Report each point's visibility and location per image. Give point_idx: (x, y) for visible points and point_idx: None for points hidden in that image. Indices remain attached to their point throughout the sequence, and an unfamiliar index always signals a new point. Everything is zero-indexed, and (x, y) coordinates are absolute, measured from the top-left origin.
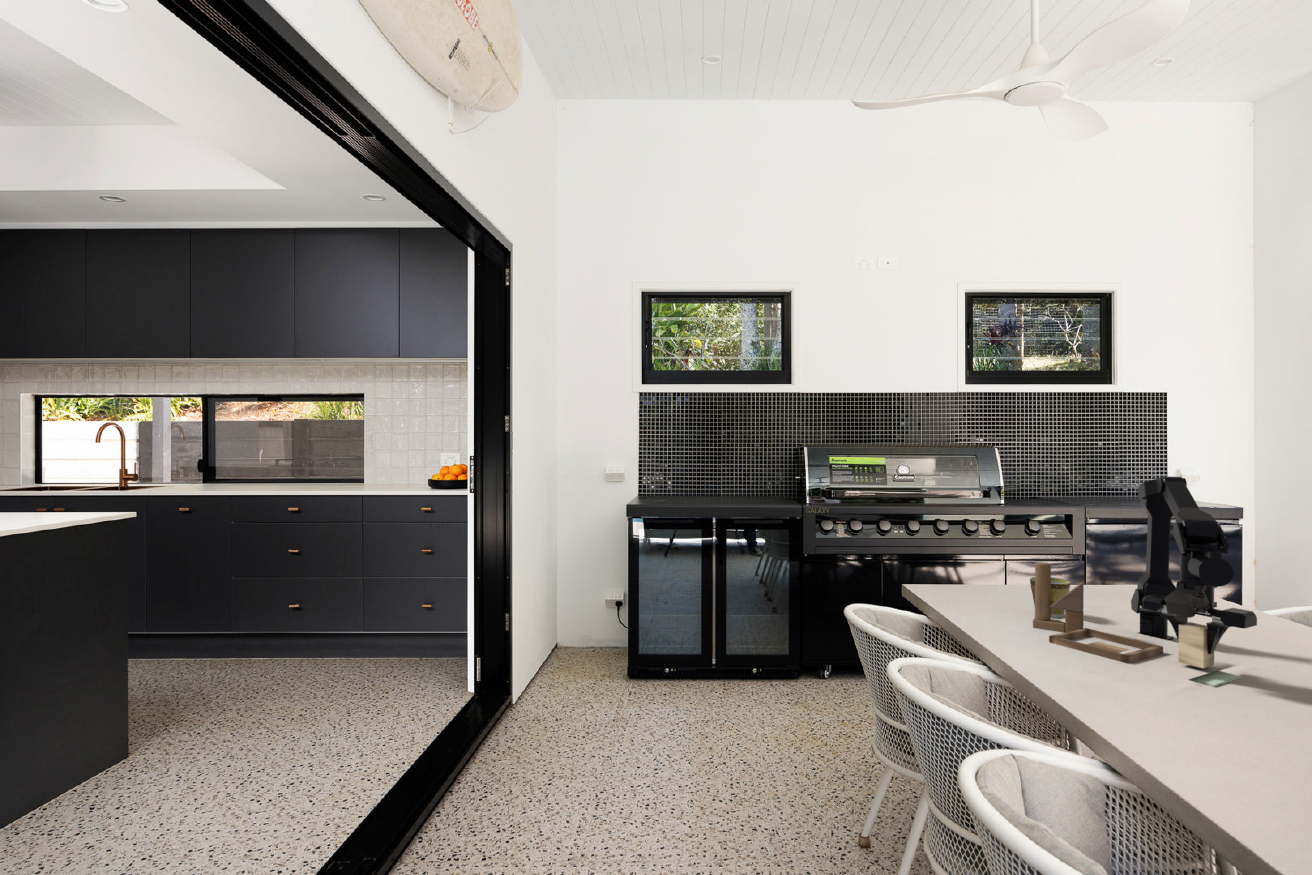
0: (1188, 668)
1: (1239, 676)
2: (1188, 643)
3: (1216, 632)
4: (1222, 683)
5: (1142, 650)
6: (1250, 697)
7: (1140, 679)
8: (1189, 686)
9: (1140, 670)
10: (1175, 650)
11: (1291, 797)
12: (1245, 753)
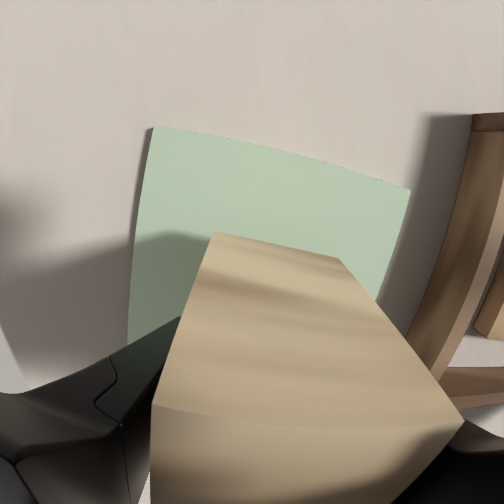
0: None
1: None
2: (318, 306)
3: (34, 396)
4: (140, 203)
5: (480, 280)
6: (43, 106)
7: (405, 13)
8: (240, 43)
9: (441, 148)
10: None
11: None
12: None
